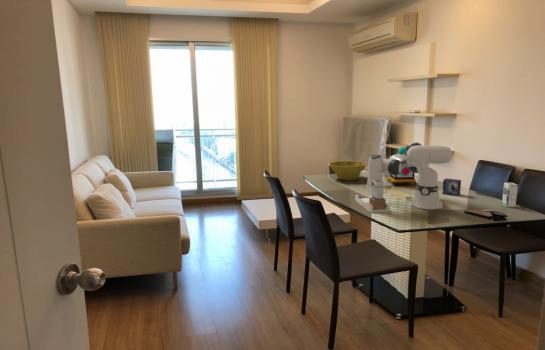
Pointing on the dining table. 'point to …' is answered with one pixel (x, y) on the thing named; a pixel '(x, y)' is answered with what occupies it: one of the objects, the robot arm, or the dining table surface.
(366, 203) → the grey chute
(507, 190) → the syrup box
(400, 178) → the decorative lantern
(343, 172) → the planter bowl
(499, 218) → the dining table surface
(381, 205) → the walnut block
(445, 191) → the small box
